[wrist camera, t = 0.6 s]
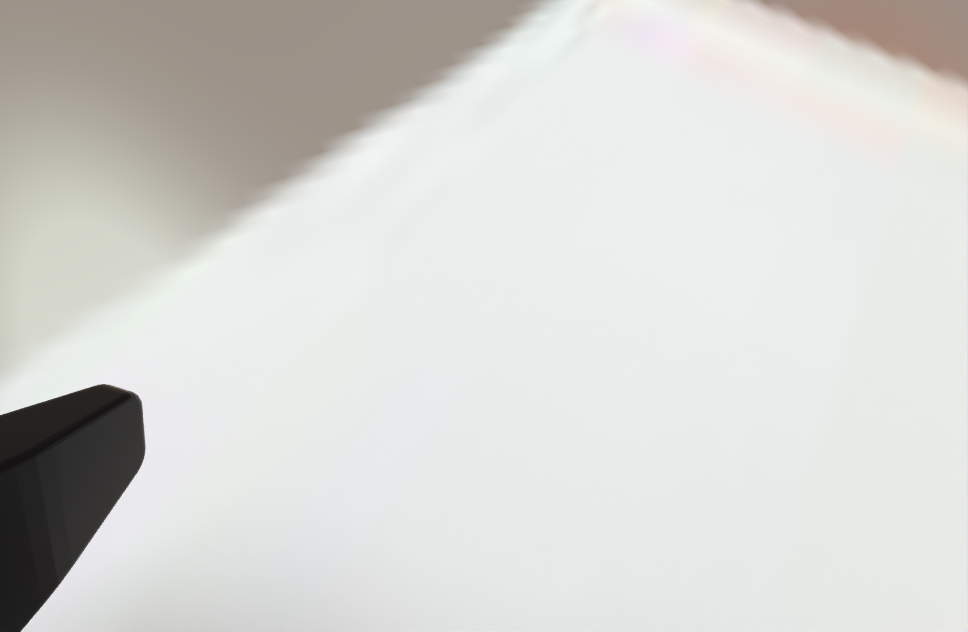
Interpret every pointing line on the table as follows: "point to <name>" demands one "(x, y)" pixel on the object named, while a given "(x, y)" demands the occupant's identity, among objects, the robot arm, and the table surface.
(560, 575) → the table surface
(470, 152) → the table surface
